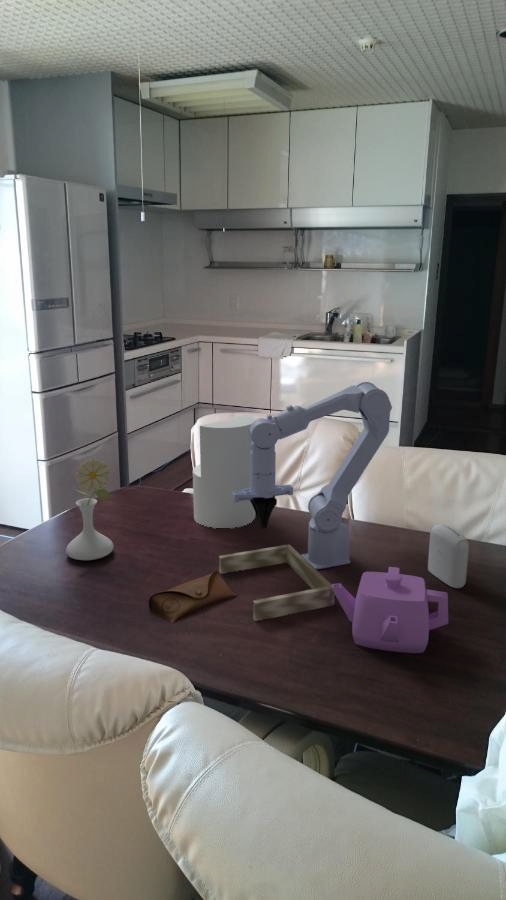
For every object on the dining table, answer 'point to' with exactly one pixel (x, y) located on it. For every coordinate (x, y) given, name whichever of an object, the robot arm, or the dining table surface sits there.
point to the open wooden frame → (286, 603)
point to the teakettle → (392, 611)
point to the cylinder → (223, 474)
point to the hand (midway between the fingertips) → (262, 526)
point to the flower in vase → (90, 512)
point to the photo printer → (448, 555)
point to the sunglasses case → (190, 597)
